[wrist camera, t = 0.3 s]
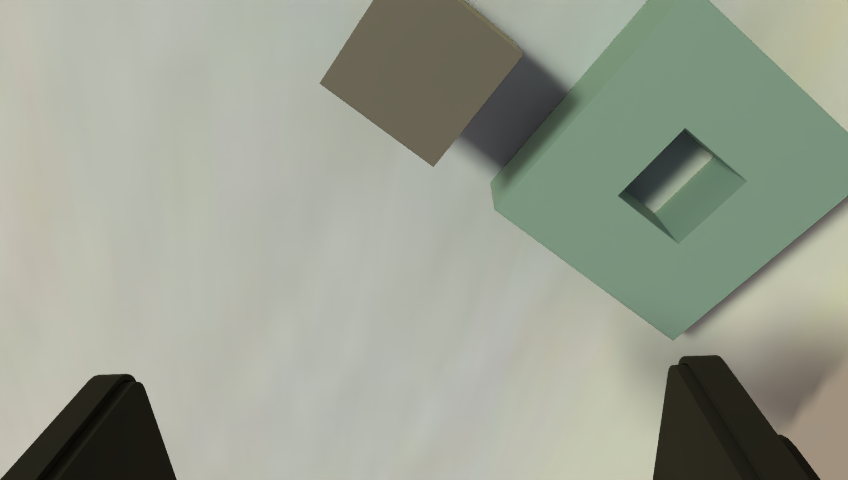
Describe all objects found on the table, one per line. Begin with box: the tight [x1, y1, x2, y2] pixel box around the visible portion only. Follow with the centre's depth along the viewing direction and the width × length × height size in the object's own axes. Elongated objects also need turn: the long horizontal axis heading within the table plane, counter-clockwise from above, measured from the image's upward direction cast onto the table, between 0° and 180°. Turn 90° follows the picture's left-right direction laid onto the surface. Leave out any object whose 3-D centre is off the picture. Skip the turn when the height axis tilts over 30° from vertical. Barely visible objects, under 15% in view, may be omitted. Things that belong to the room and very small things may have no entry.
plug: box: [320, 0, 523, 167], centre depth 29 cm, size 7×7×9 cm
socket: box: [491, 0, 848, 340], centre depth 34 cm, size 15×15×4 cm
